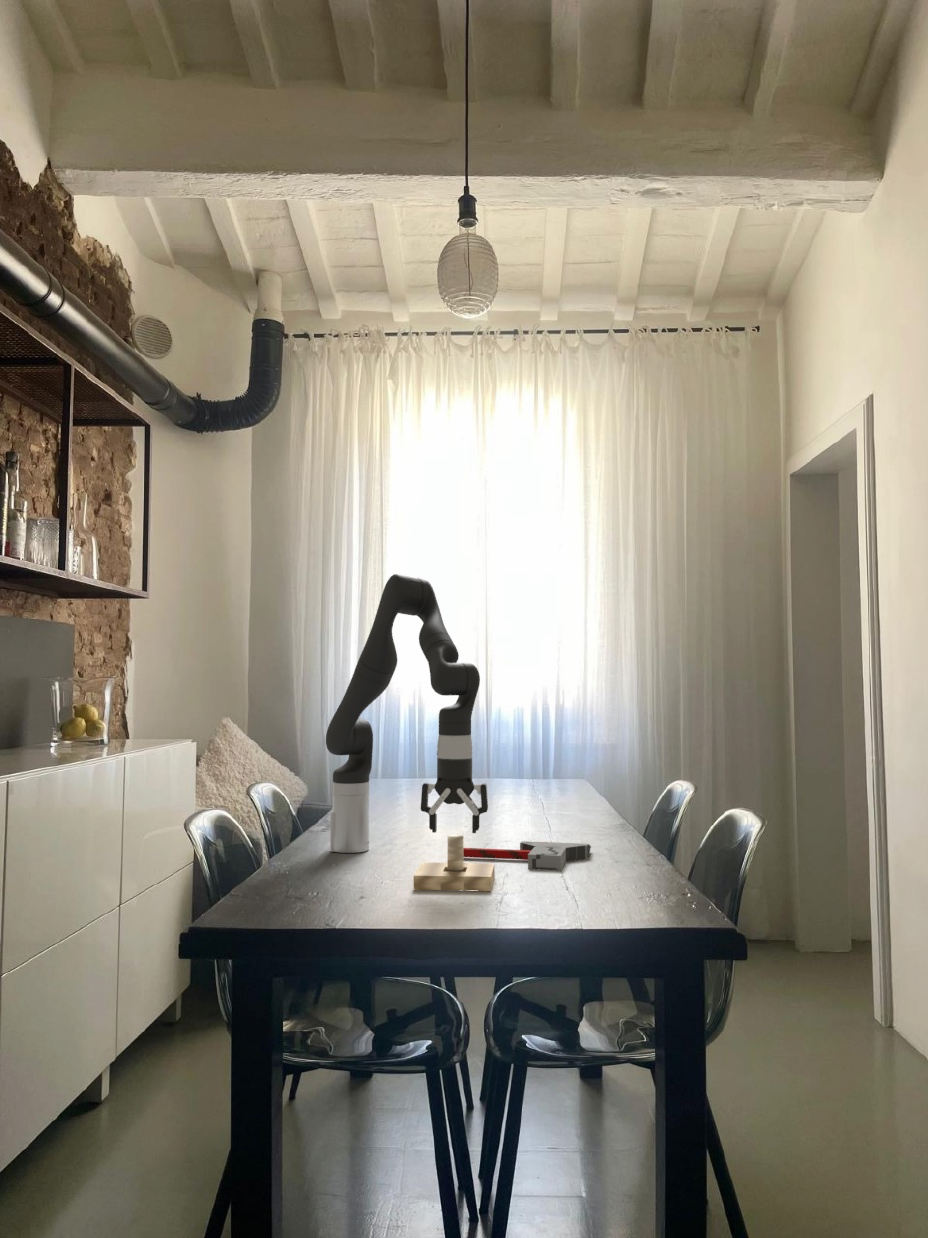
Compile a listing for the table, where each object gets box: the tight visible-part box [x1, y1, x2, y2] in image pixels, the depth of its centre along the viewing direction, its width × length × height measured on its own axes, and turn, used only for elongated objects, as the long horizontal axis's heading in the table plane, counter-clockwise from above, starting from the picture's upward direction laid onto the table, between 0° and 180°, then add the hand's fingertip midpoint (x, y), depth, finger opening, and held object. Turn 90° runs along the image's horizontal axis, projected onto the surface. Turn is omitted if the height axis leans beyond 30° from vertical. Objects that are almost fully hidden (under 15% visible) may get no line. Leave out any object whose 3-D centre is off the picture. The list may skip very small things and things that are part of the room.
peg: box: [447, 834, 465, 872], centre depth 204 cm, size 4×4×10 cm
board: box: [413, 861, 496, 892], centre depth 204 cm, size 16×14×3 cm
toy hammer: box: [463, 840, 592, 871], centre depth 232 cm, size 24×4×30 cm
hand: (454, 832), depth 205 cm, fingers open, 8 cm apart
